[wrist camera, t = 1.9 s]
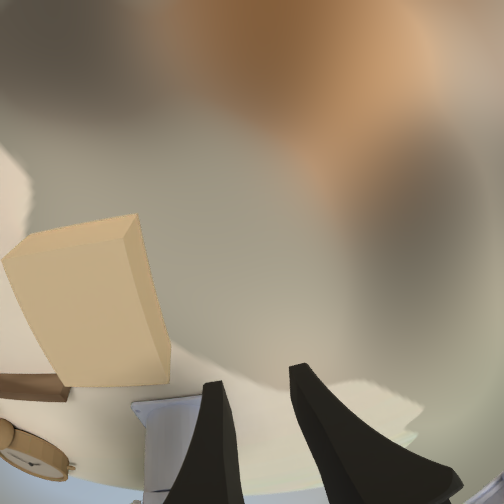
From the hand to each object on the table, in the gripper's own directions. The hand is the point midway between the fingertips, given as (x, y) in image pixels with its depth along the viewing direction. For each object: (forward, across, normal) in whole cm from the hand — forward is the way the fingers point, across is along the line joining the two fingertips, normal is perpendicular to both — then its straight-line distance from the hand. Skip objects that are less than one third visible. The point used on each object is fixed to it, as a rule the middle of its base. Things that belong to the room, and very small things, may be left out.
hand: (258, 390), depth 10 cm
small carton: (+10, +9, 0) cm, 13 cm away
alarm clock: (+10, +33, +21) cm, 40 cm away
